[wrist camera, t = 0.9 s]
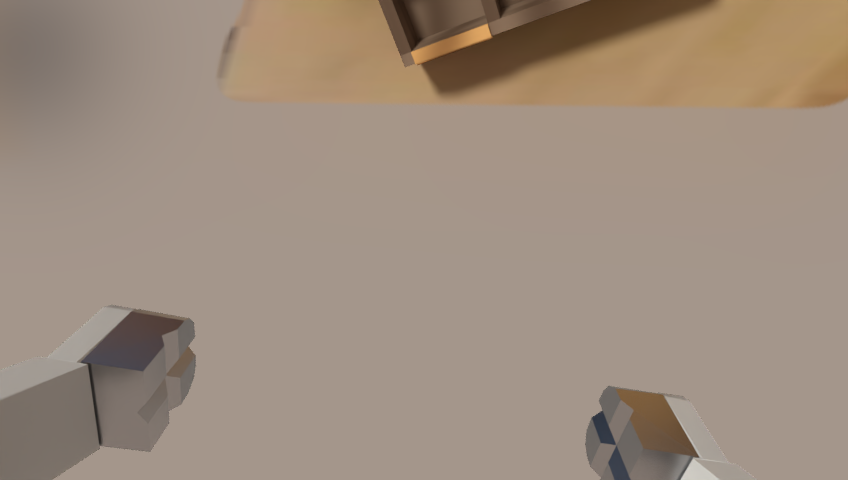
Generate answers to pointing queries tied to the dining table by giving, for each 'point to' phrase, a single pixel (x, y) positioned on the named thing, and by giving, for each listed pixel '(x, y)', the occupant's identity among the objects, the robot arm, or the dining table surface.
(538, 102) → the dining table surface
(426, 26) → the box
